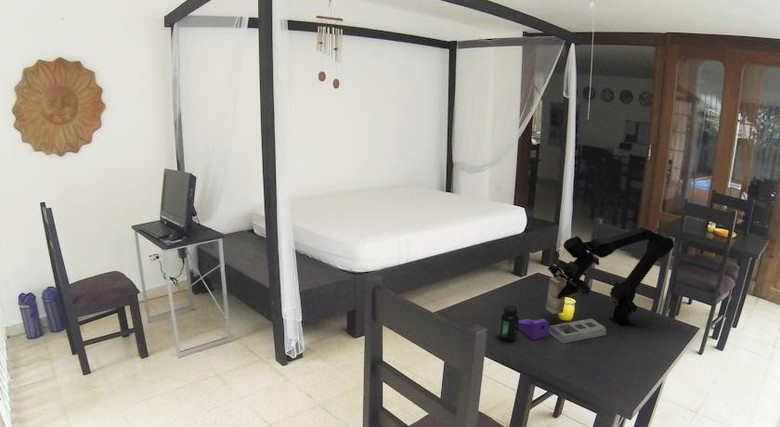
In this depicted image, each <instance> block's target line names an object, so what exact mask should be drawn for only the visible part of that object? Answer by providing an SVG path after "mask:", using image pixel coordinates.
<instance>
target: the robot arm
mask: <svg viewBox="0 0 780 427" xmlns="http://www.w3.org/2000/svg"><path fill="white" fill-rule="evenodd" d="M645 240H647V243H646V251H645V252H644V254H643V255H642V257H641V258H640V260H639V261H638V262H637V264H636V265H635V266H634V268H633V269H632V270H631V271H630V273H629V275H628V276H627V277H626V279H625V280H624V281H622V282H618V281H616V283H615V284H614V286H613V287H612V288H610V292H609V296H610V299H611V300H612V303H613V304H615V306H614V310H613V315H612V316H609V320H611V321H613V322H615V323H616V324H618V325H620V326H627V325H633V324H634V323H635V322H634V321H632V315H633V313H636V311H637V310H638V306H637V304H635V303H634V299H635V298H636V294H637V293H636V291H637V288H638V287H639V286H640V285H641V283H642V281H644V279H645V277H646V276H647V275H648V274H649V272H650V270H652V268H653V266H654V265H655V264H656V263H657V262H658V260H659V259H661V258H663V257H665V256H667V255H668V254H669V253H670V251H672V250H673V249H674V246H675V243H674V240H673V239H672V238H671V237H669V236H666V235H665V234H663V233H660V232H657V233H655V232H654V231H652V230H651V229H649V228H647V227H645V226H641V227H639V228H635V229H633V230H630V231H627V232H625V233H624V232H623V233H621V234H618V235H615V236H611V237H597V238H593V239H591V240H589V241H583V240H582V238H581V237H580V236H578V235H576V236H574V237H571V238H569V239H568V238H567V240H565V241H564V243H563V249H564V250H566V251H567V253H568V254H569V255H570V256H571V257H572V258H574V259H575V260H574V261H572V260H571V261H569V262H567V261H564V260H563V259H562V260H561V259H559V258H558V261H557V262H556V264H550V265H549V266H548V267H547V270H548V271H549V272H550V273H551V275H553V277H552V278H554V277H561V278H563V279H564V280H566V281H567V283H566V286H565V288H564V289H563V290H562V291H561V292H560V293H559V295H558V296H557V298H558V299H560V298H563V297H565V298H566V297H568V296H570V295H573V294H576V293H577V294H579V293H580V292H581V293H582V294H583V295H585V296H588V294H590V291H591V288H590V286H589V285H588V284H587V283H586V281H584V280H582V279H581V278H582V277H583V276H584V277H586V275H587V271H588V270H589V269H590V268H591V267H592V265H596V266H600V258H601V259H602V258H603V259H604V258H607V257H608V256H610V255H612V254H614V252H615V251H617V250H619V249H622V248H623V247H624V248H625V247H627V246H631V245H633V244H637V243H640V242H642V241H645ZM594 255H595V256H594Z"/></svg>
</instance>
